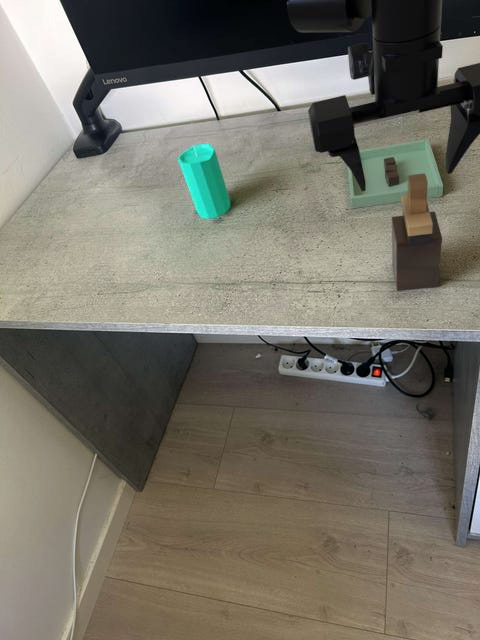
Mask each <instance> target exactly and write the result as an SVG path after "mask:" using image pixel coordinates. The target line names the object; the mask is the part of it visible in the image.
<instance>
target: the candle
mask: <svg viewBox="0 0 480 640" xmlns="http://www.w3.org/2000/svg"><path fill="white" fill-rule="evenodd" d="M177 161H178V164H179V166H180V169H181V172H182V174H183V177H184V180H185V183H186V185H187V188H188V190H189V194H190V197H191V199H192V202H193V204H194V207H195V209H196V213H197V214H198V215H199V217H200V218H201V219H207V220H211V219H215V218H219V217H221V216H223V215H224V214H226V213H227V212H228V211H229V210H230V208H231V204H232V203H231V202H232V201H231V198H230V196H229V191H228V189H227V185H226V182H225V179H224V176H223V172H222V169H221V165H220V162H219V160H218V155H217V152H216V149H215V147H213V145H212V144H211V143H200V144H192V146H190V147H189V148H187V149H186V150H184V151H183V152H182V153H180V154H179V155H178V157H177Z"/></svg>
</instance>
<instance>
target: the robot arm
mask: <svg viewBox="0 0 480 640" xmlns="http://www.w3.org/2000/svg"><path fill="white" fill-rule="evenodd" d="M442 10H443V0H287V1H286V11H287V16H288V19H289V21H290V24H291V26H292V27H293V29H295V31H297V32H298V33H354V32H356V31H358V30H359V29H360V28H361V26H362V25H363V23H364V21H365V20H366V19H368V18H369V17H370V16H371V23H372V24H371V27H372V28H371V29H372V50H369V44H368V42H362V43H357V44H354V45H350V46H348V47H347V55H348V57H347V58H348V67H349V76H350V79H351V80H354V81H356V80H359V79H364V78H368V87H369V89H368V90H369V93H370V94H371V96H374V101H372V102H367V103H364V104H363V103H362V104H360V105H354V106H351V107H350V104H349V101H348V99H347V96H346V95H345V94H344V95H339V96H335V97H330V98H327V99H323V100H318V101H315V102H312V103H311V105H310V106H309V108H308V110H307V112H308V113H307V114H308V120H309V126H310V132H311V136H312V143H313V147H314V151H315V152H316V153H322V154H323V153H328V156H329V157H331V158H336V157H340V158H341V160H342V161H343V162H344V164H345V165H346V166H348V167H349V168H350V170H351V171H352V173H353V175H354V177H355V179H356V181H357V183H358V185H359V187H360V189H361V191H362V192H363V191H365V190H366V182H365V177H364V172H363V167H362V162H361V157H360V152H359V150H360V148H359V145H358V141H357V139H356V132H355V129H356V128H359V127H363V126H367V125H368V126H369V125H372V124H376V123H380V122H387V121H389V120H394V119H398V118H403V117H406V116H412V115H415V114H420V113H424V112H429V111H435V110H439V109H442V108H447V107H450V123H449V130H448V137H447V143H446V150H445V156H444V157H445V159H444V170H445V172H446V174H447V175H451V174H453V172H454V170H455V169H456V167H457V166H458V164H459V163H460V162H461V160H462V158H463V157H464V155H465V154H466V153H467V151H468V150H469V149H470V147H471V146H472V144H473V143H474V142H475V140H476V139H477V138H478V137H479V136H480V62H477V63H473V64H469V65H464V66H459V67H457V69H456V71H455V72H454V76H453V77H454V78H453V82H452V83H449V84H445V85H441V86H440V85H438V84H439V66H440V59H443V49H444V48H443V47H444V46H443V44H442V42H441V30H442V29H441V27H442Z"/></svg>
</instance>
